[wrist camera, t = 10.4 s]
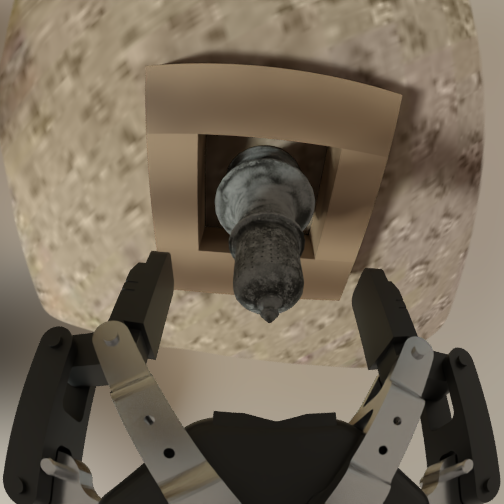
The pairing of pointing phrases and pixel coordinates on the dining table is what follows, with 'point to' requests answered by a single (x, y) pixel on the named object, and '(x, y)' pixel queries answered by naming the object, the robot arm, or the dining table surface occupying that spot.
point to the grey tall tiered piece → (265, 227)
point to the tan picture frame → (272, 127)
